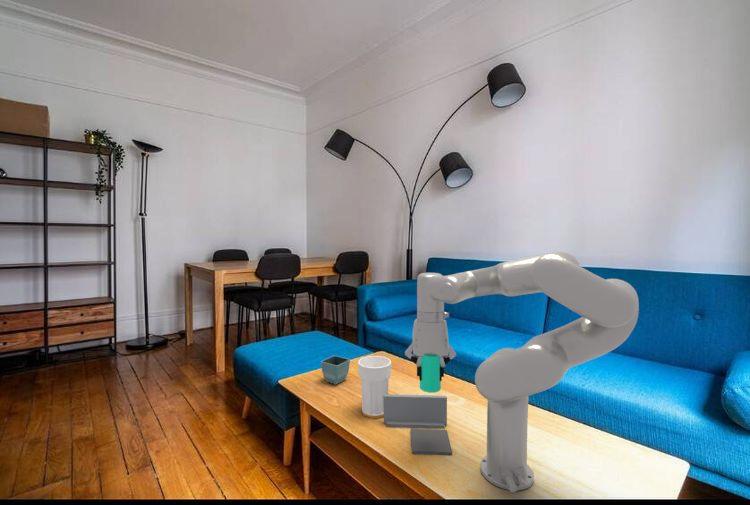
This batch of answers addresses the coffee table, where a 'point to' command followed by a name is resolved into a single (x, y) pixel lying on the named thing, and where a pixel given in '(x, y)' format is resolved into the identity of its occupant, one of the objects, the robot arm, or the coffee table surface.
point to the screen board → (415, 411)
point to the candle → (430, 374)
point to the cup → (374, 384)
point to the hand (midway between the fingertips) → (430, 378)
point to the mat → (430, 442)
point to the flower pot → (335, 369)
